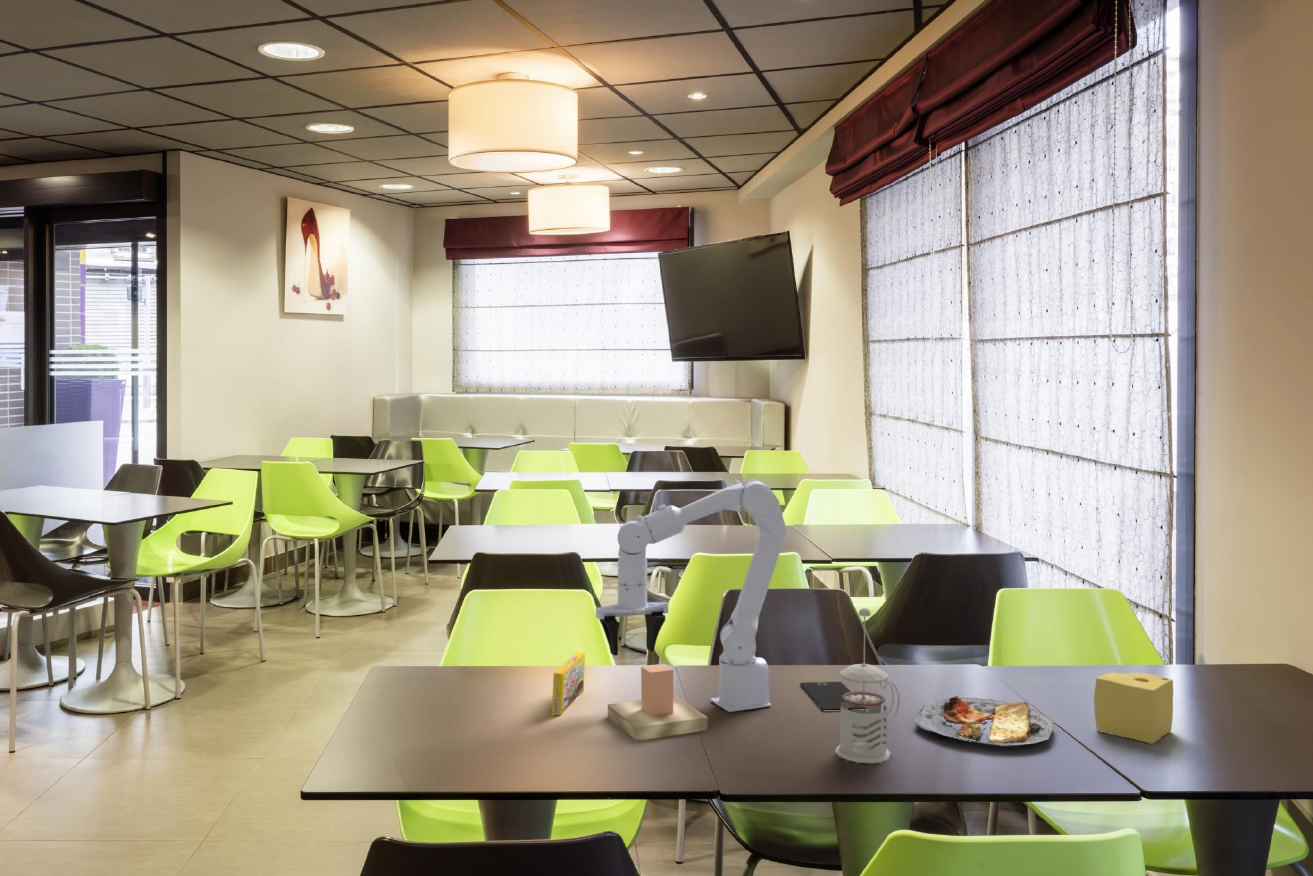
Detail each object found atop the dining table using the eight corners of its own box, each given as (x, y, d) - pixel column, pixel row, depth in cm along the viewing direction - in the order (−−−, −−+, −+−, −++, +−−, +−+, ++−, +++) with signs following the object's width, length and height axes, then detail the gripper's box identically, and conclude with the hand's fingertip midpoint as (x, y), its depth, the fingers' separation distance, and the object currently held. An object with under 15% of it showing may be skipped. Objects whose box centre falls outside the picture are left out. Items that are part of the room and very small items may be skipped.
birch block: (675, 710, 197) (675, 695, 197) (707, 733, 184) (707, 717, 184) (607, 720, 192) (607, 704, 191) (636, 744, 179) (636, 727, 179)
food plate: (932, 700, 202) (933, 683, 202) (1058, 719, 192) (1058, 700, 192) (905, 743, 180) (905, 724, 179) (1045, 766, 169) (1046, 746, 169)
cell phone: (840, 685, 214) (840, 681, 214) (867, 712, 196) (867, 707, 196) (799, 686, 213) (799, 682, 213) (822, 714, 195) (823, 709, 195)
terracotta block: (663, 705, 191) (663, 663, 190) (673, 712, 186) (673, 669, 186) (641, 708, 189) (641, 666, 188) (650, 716, 185) (650, 672, 184)
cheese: (1115, 719, 192) (1116, 666, 191) (1175, 733, 184) (1177, 678, 184) (1092, 732, 184) (1093, 677, 184) (1154, 747, 177) (1156, 690, 176)
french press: (822, 747, 175) (824, 604, 174) (879, 739, 180) (881, 599, 179) (854, 767, 166) (856, 616, 165) (913, 758, 171) (915, 611, 169)
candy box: (562, 716, 192) (562, 673, 192) (551, 716, 192) (551, 673, 192) (585, 691, 208) (585, 651, 207) (575, 691, 208) (575, 651, 208)
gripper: (604, 589, 191) (604, 661, 192) (674, 584, 197) (674, 653, 198) (592, 583, 198) (592, 652, 198) (660, 577, 203) (660, 644, 204)
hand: (632, 652), depth 198 cm, fingers open, 7 cm apart
